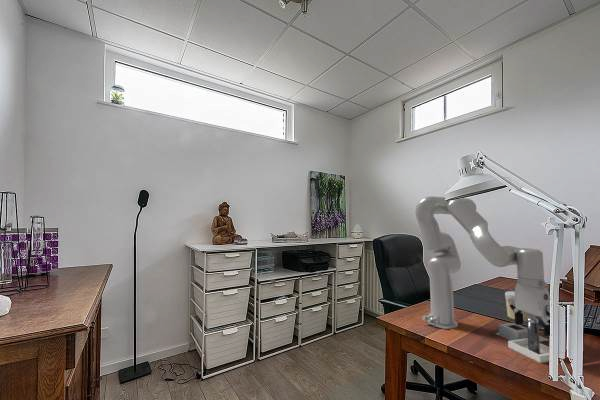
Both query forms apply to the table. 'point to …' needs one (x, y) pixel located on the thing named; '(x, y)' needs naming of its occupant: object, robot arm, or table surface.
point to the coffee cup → (509, 311)
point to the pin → (533, 335)
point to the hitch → (515, 331)
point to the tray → (522, 348)
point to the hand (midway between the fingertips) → (532, 329)
